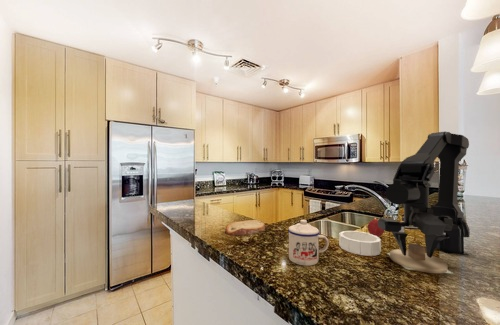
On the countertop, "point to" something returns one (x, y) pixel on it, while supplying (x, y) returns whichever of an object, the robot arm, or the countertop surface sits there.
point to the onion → (374, 228)
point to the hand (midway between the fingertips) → (416, 256)
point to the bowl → (360, 243)
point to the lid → (418, 260)
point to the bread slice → (244, 227)
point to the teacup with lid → (305, 243)
